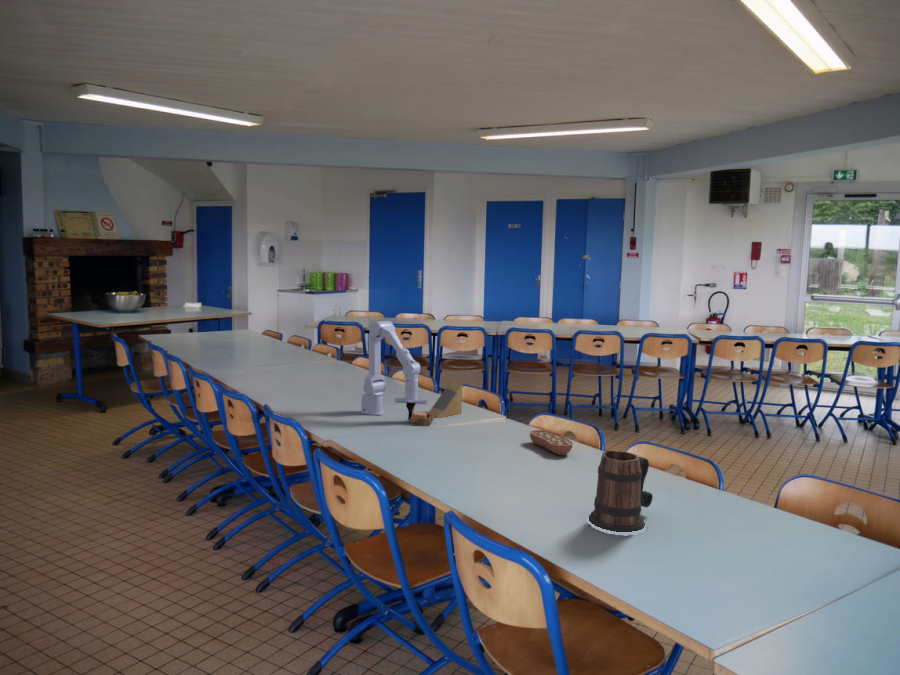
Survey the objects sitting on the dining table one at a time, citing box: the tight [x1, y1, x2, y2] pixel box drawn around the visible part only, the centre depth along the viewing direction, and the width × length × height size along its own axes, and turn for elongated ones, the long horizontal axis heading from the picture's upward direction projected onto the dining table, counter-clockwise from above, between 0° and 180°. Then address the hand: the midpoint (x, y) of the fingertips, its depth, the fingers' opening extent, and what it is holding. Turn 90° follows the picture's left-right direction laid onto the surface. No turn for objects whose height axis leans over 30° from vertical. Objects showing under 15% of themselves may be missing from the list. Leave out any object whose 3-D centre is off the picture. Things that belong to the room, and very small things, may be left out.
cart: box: [412, 406, 428, 419], centre depth 288 cm, size 6×6×6 cm
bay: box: [409, 413, 434, 426], centre depth 288 cm, size 9×10×3 cm
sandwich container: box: [427, 381, 463, 419], centre depth 302 cm, size 9×15×15 cm, turn 132°
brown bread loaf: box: [529, 429, 573, 456], centre depth 253 cm, size 23×10×5 cm, turn 25°
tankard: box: [588, 450, 653, 532], centre depth 184 cm, size 24×17×20 cm
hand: (410, 419), depth 288 cm, fingers closed, pressing on cart
